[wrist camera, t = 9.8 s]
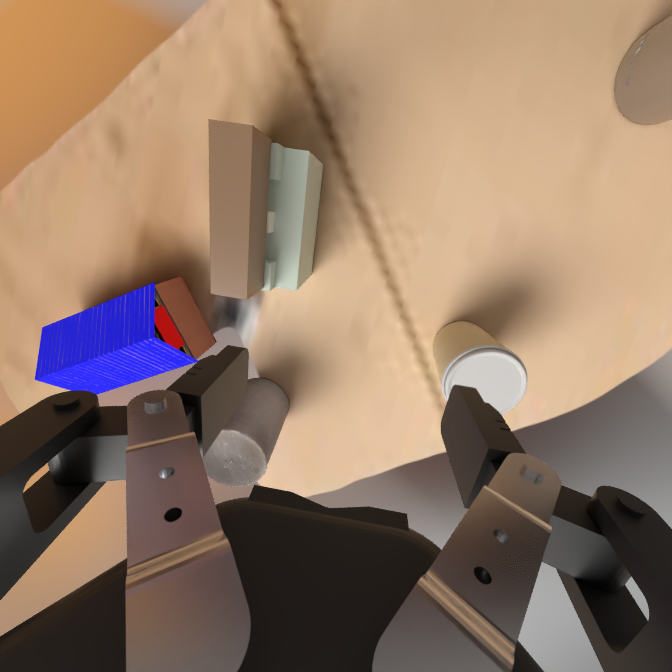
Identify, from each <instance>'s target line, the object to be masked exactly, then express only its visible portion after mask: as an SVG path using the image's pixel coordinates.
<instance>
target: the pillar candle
mask: <svg viewBox="0 0 672 672" xmlns="http://www.w3.org/2000/svg"><path fill="white" fill-rule="evenodd" d="M288 410H289V401H288V397H287V396H286V394H285V393H284V392H283V390H282V389H281V388H280V387H279V386H278V385H277V384H276V383H274V382H272V381H270V380H267V379H263V378H252V379H249V380H248V383H247V390H246V393H245V396H244V398H243V400H242V401H241V403H240V404H239V406H238V407H237V409H236V410H235V412H234V413H233V415H232V416H231V417H230V419H229V420H228V422H227V423H226V425H225V426H224V428H223V429H222V431H221V432H220V434H219V435H218V437H217V438H216V439H215V441H214V442H213V444H212V445H211V447H210V448H209V450H208V451H207V453H206V454H205V456H204V457H203V458H202V460H203V463H204V467H205V470H206V474H207V475H208V476H209V477H210V478H211V479H213V480H215V481H216V482H218V483H220V484H223V485H226V486H231V487H244V486H248V485H250V484H253V483H255V482H257V481H258V480H259V479H260V478H261V477H262V476H263V475H264V474H265V473H266V471H265V470H266V469H267V464H268V462H269V459H270V457H271V454H272V452H273V449H274V447H275V444H276V441H277V439H278V436H279V434H280V431H281V429H282V426H283V424H284V421H285V418H286V416H287V413H288Z"/></svg>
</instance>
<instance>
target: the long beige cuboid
mask: <svg viewBox="0 0 672 672" xmlns="http://www.w3.org/2000/svg"><path fill="white" fill-rule="evenodd" d="M270 156H271V139H270V138H269V137H268V136H266V135H265V134H264V133H262V132H261V131H260V130H258V129H257V128H255V127H254V126H253V125H246V124H239V123H232V122H224V121H217V120H210V119H209V199H210V289H211V294H215V295H221V296H227V297H233V298H239V299H245V300H247V299H249V298H250V297H251V296H253V295H254V294H256V293H257V292H258V291H260V290H261V289H263V288H264V269H265V250H266V231H267V212H268V193H269V175H270Z"/></svg>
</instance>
